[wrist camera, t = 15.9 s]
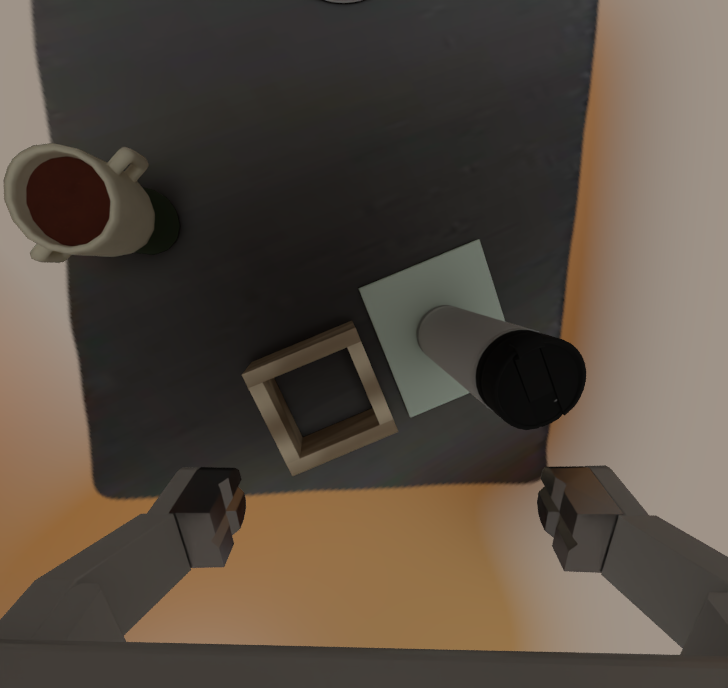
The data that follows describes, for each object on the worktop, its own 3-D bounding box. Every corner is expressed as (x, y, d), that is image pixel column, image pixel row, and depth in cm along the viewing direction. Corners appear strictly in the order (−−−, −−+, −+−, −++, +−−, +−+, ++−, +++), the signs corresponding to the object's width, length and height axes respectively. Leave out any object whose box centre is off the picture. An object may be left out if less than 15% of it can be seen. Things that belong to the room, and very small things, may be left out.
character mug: (155, 154, 36) (66, 93, 24) (214, 209, 38) (158, 179, 25) (83, 236, 37) (-41, 220, 25) (143, 287, 39) (55, 296, 26)
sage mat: (358, 288, 41) (359, 289, 40) (475, 240, 41) (479, 239, 40) (408, 414, 45) (410, 417, 44) (516, 368, 45) (520, 371, 44)
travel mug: (456, 292, 41) (575, 314, 22) (478, 344, 43) (608, 409, 23) (405, 317, 41) (478, 361, 22) (429, 369, 43) (517, 454, 23)
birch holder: (251, 362, 41) (241, 374, 37) (351, 320, 42) (355, 327, 37) (296, 453, 44) (292, 476, 39) (390, 413, 44) (398, 431, 39)
